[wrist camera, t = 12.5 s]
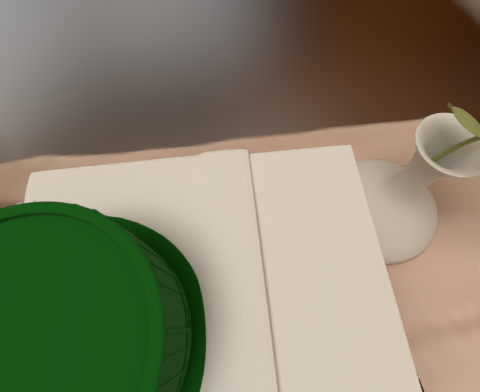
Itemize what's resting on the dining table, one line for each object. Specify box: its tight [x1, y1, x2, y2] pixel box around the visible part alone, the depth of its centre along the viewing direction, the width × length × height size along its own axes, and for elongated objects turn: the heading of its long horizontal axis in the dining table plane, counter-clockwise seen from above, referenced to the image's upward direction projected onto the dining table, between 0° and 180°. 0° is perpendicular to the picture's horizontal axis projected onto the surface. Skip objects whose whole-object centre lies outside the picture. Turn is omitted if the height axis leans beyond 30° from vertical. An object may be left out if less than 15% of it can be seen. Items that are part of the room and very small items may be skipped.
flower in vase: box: [356, 102, 480, 264], centre depth 21 cm, size 13×11×25 cm
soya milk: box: [0, 145, 422, 392], centre depth 13 cm, size 9×9×20 cm
